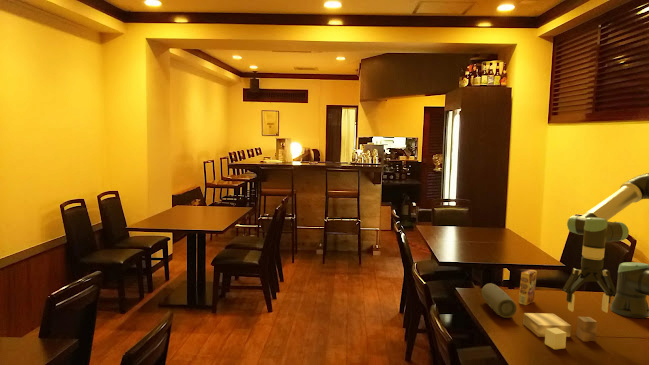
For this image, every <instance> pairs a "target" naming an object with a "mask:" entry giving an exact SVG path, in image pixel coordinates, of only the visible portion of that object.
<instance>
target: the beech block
mask: <svg viewBox="0 0 649 365" xmlns="http://www.w3.org/2000/svg"><path fill="white" fill-rule="evenodd" d="M522 320H523V321H522V325H523V326H525V327H526V328H527V329H528V330H530V332H532V333H533V334H535V335H536V336H537V337H540V338H542V337H543V338H545V332H546V329H548V328H558V329H560V330H562V331H564V332H566V338H570V337H571V333H572V332H571V330H572V329H571V328H572V325H571V324H569V323H568V322H567V321H565V320H564V319H562V318H561V317H559V315H556V314H555V313H546V312H545V313H542V312H541V313H539V312H535V313H534V312H524V313H523V319H522Z"/></svg>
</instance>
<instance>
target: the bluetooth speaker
mask: <svg viewBox="0 0 649 365" xmlns="http://www.w3.org/2000/svg"><path fill="white" fill-rule="evenodd" d="M480 292H481V295H482V297H483V299H484V301H485V302H486V303H487V305H488V306H489V307H490V308H491V310H492V309H493V310H492V311H493V312H494V313H495V314H496V315H497V316H499V317H502V318H505V319H506V318H507V319H509V318H512V317H513V316H515V315H516V313H517V309H518V308H517V305H516V302H515V301H514V300H513V298H511V296H510V295H509V294H508V293H506V292H505V291H504V290H503V289H502V288H501V287H499V286H498V285H496V284H495V283H492V282H490V283H486V284H485V285H483V287H482V288H481V290H480Z"/></svg>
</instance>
